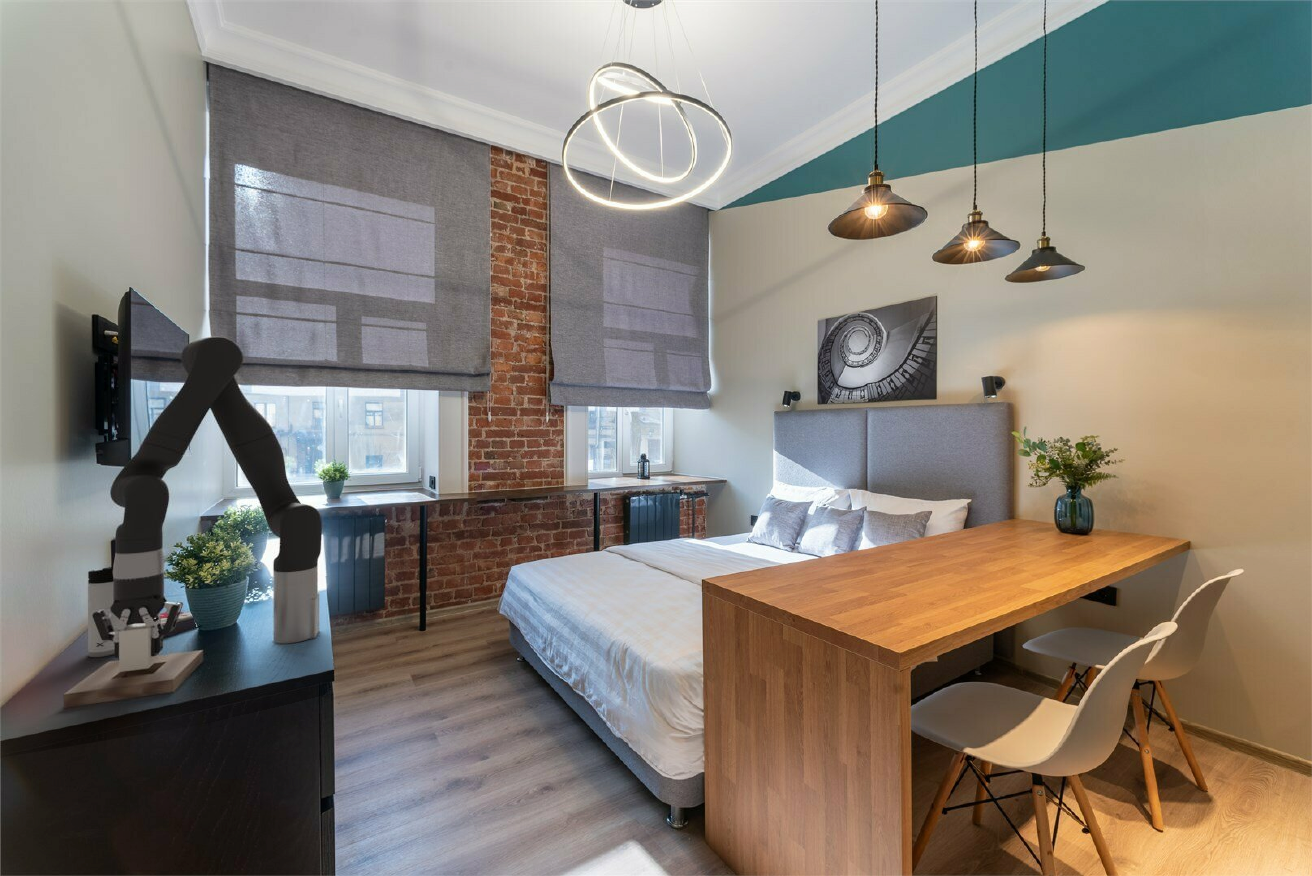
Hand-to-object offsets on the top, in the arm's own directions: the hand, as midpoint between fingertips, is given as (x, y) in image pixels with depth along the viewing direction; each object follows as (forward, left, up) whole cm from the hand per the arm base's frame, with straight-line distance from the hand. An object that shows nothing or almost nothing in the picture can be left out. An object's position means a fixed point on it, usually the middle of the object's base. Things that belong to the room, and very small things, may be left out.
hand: (138, 656), depth 112 cm
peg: (0, 0, -2) cm, 2 cm away
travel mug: (+14, -23, -6) cm, 27 cm away
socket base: (0, 0, -5) cm, 5 cm away
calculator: (+9, -34, -6) cm, 36 cm away
